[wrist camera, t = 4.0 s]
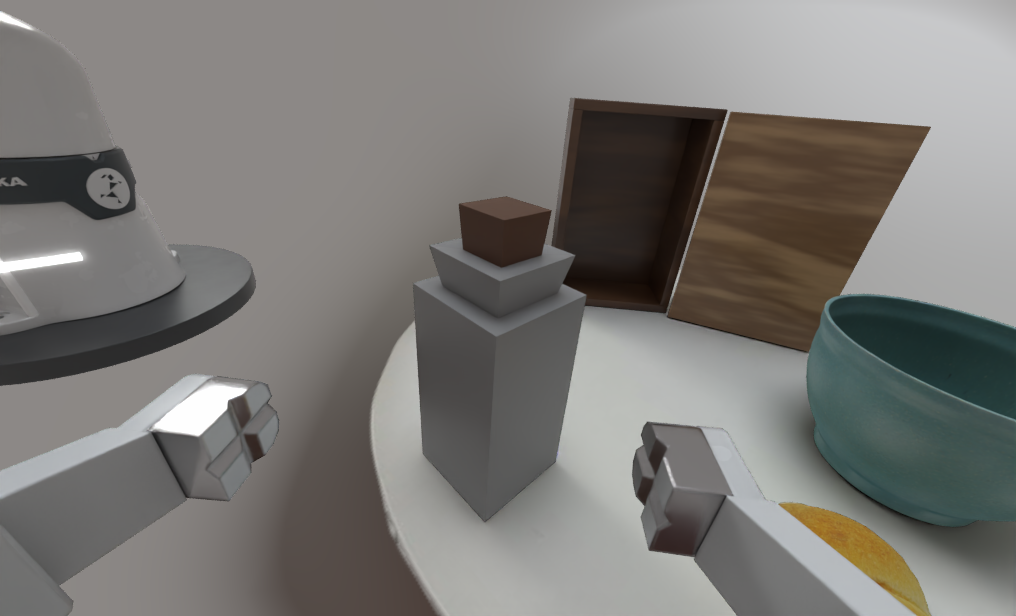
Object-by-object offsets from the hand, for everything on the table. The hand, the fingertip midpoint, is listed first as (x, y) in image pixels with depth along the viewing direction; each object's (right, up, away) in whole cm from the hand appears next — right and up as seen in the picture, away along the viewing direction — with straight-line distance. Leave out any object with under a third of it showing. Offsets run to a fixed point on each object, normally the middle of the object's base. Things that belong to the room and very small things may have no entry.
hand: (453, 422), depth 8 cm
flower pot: (+30, -10, +21) cm, 38 cm away
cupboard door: (+29, +1, +39) cm, 49 cm away
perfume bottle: (0, -8, +19) cm, 21 cm away
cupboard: (+14, +4, +44) cm, 46 cm away
